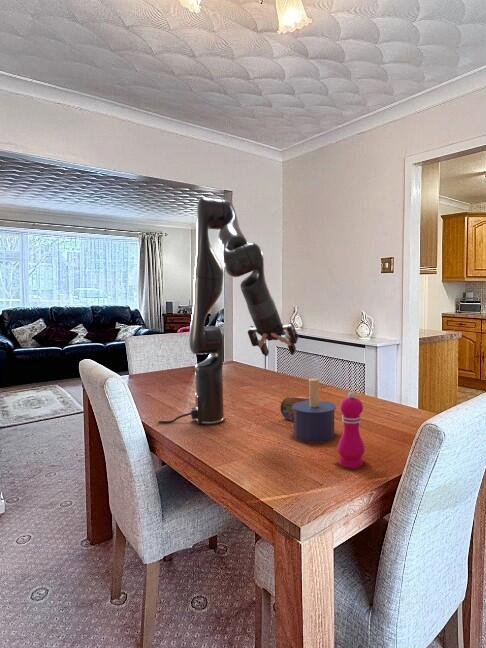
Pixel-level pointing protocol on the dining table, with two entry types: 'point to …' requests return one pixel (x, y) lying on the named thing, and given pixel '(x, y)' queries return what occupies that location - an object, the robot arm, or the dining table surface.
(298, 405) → the lid
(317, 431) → the can
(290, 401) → the tin
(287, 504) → the dining table surface
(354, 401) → the pepper mill
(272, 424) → the dining table surface
